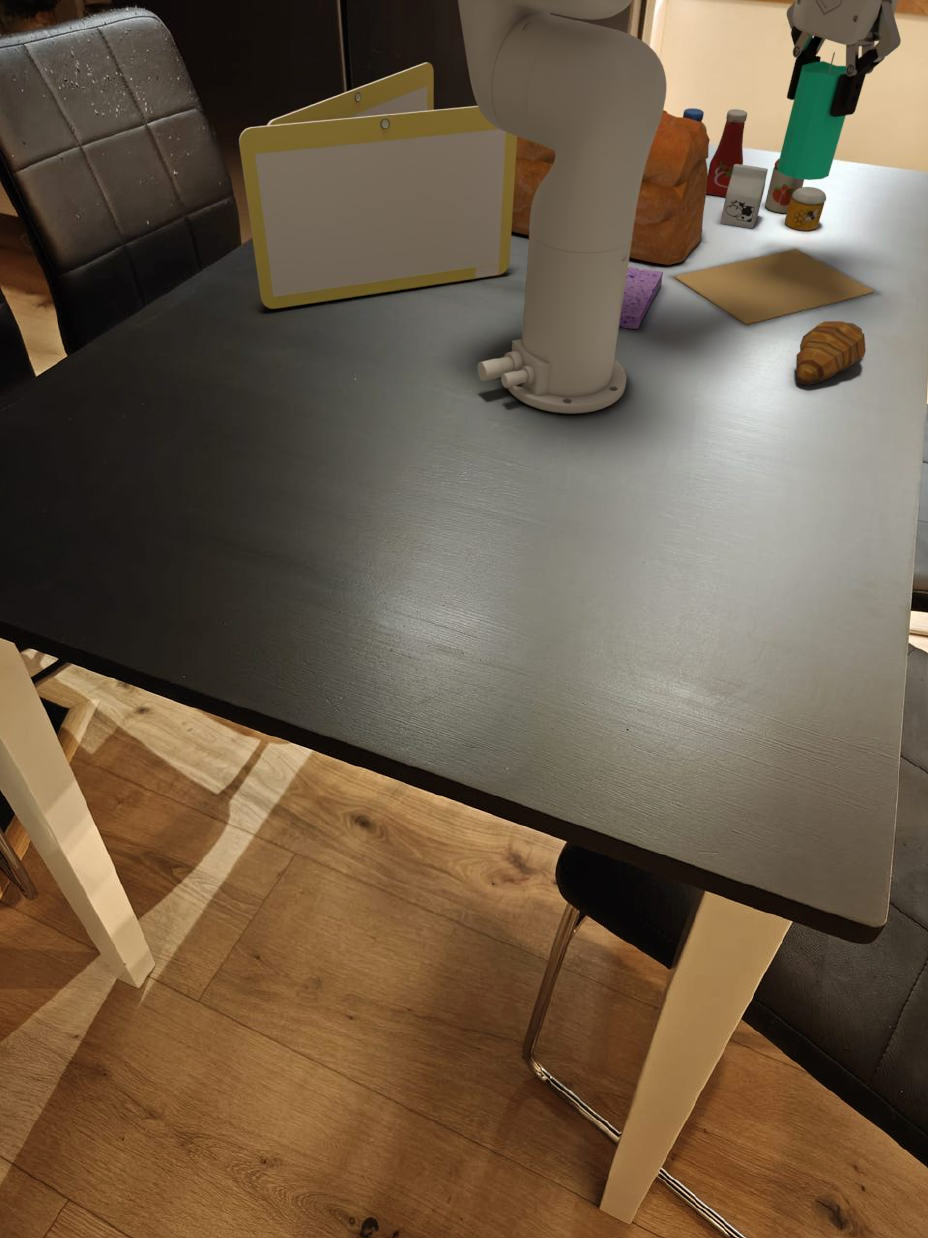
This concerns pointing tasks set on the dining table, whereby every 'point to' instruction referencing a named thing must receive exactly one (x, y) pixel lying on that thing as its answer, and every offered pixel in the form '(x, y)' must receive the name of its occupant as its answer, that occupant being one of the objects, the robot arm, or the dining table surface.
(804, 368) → the croissant
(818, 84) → the candle
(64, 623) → the dining table surface
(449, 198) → the tabletop whiteboard easel
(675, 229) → the bread
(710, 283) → the place mat
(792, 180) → the toy food
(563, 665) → the dining table surface
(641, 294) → the sponge
